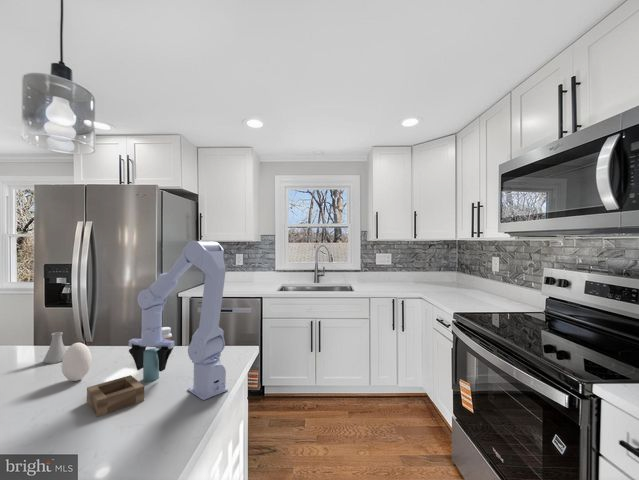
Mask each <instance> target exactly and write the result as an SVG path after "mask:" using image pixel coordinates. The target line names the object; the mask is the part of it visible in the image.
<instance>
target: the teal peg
mask: <svg viewBox="0 0 639 480" xmlns="http://www.w3.org/2000/svg"><path fill="white" fill-rule="evenodd" d="M157 350H159V349H158V348H156V347H150V348H148V349H147V348H146V349H145V351H144V356H143V368H142V369H143V371H142V372H143V373H142V376H143V377H142V380H143V382H144V383H146V382H147V383H150V382H154V381H157V380H158V379H159V378H160V371H159V359H158V355H157Z"/></svg>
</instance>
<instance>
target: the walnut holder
mask: <svg viewBox="0 0 639 480" xmlns="http://www.w3.org/2000/svg"><path fill="white" fill-rule="evenodd" d="M144 401H145V385H144V384H142V383H141V382H140V381H138V380H137V379H136V378H135V377H133V375H131V374H129V375H126V376H122V377H119V378H116V379H112V380H109V381H105V382H102V383H97V384H95V385H92V386H91V385H90V386H88V387H86V404H88V407H90V409H91V411H93V413H94V414H95V415H96V417H97V418H99V417H101V416H104V415H106V414H110V413H112V412H116V411H119V410H121V409H124V408H127V407H130V406H133V405H136V404H138V403H142V402H144Z"/></svg>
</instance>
